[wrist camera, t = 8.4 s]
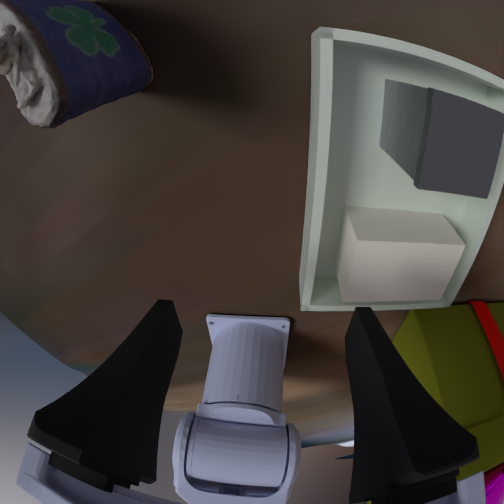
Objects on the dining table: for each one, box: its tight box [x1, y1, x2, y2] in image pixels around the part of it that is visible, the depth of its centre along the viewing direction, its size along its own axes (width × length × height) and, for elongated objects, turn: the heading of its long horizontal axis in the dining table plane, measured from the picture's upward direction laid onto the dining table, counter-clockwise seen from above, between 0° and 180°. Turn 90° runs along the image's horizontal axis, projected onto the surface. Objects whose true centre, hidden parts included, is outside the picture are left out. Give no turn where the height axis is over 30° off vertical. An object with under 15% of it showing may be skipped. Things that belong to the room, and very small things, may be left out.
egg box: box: [335, 206, 466, 302], centre depth 18 cm, size 5×8×4 cm, turn 92°
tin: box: [379, 79, 504, 199], centre depth 12 cm, size 5×5×6 cm
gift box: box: [368, 300, 504, 504], centre depth 19 cm, size 21×21×25 cm
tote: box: [299, 27, 504, 311], centre depth 16 cm, size 18×13×4 cm
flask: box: [0, 0, 153, 128], centre depth 9 cm, size 9×3×11 cm, turn 34°
